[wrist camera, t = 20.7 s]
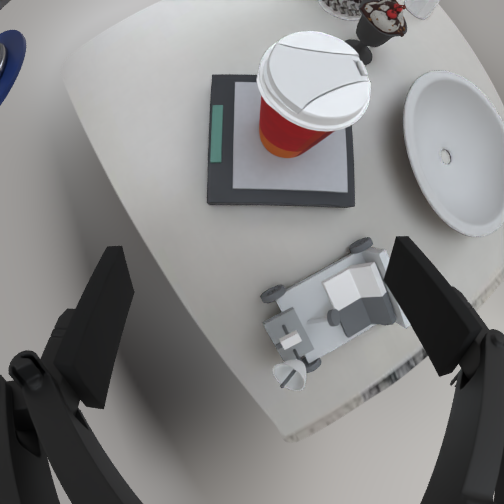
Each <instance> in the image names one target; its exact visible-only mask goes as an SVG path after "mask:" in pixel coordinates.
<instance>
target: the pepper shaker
mask: <svg viewBox="0 0 504 504" xmlns="http://www.w3.org/2000/svg"><path fill="white" fill-rule="evenodd" d="M439 1H440V0H405V1H404V3H405V6H406V8H407V10H408V11H410V12H411V13H412V14H413V15H414V16H415V17H418V18H421V19H423V20H424V19H426V18H427V17H428V16H429V15H430V14H431V12H432V11H433V10H434V8H435V7H436V5H437V4H438V3H439Z"/></svg>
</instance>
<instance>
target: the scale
mask: <svg viewBox="0 0 504 504" xmlns="http://www.w3.org/2000/svg"><path fill="white" fill-rule="evenodd" d="M260 105H261V93H260V91H259V89H258V85H257V75H212V86H211V103H210V123H209V147H208V182H207V203H208V204H209V205H280V206H314V207H338V208H348V207H354V206H355V188H354V157H353V138H352V125H351V126H349V127H346V128H344V129H340V130H336V131H334V132H333V133H332V134H330V135H329V136H327V137H326V138H325V139H323V140H322V141H320V142H319V143H318V144H316V145H315V146H313V147H312V148H310V149H309V150H308V151H306V152H305V153H303V154H301V155H299V156H297V157H293V158H281V157H278V156H275V155H273V154H272V153H270V152H269V151H268V150H267V149H266V148H265V147H264V145H263V144H262V142H261V139H260V135H259V119H260Z"/></svg>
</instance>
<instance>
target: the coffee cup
mask: <svg viewBox="0 0 504 504" xmlns="http://www.w3.org/2000/svg"><path fill="white" fill-rule="evenodd" d="M257 85H258V89H259V91H260V93H261V105H260V119H259V135H260V139H261V142H262V144H263V145H264V147H265V148H266V149H267V150H268V151H269V152H270V153H272V154H273V155H275V156H278V157H281V158H293V157H297V156H299V155H301V154H303V153H305V152H306V151H308V150H309V149H310V148H312V147H313V146H315V145H316V144H318V143H319V142H320V141H322V140H323V139H325V138H326V137H327V136H329V135H330V134H332V133H333V132H334V131H336V130H340V129H344V128H346V127H349V126H351V125H352V124H354V123H355V122H357V121H358V120H359V119H360V118H361V117H362V116H363V114H364V113H365V111H366V109H367V107H368V104H369V100H370V90H371V81H369V79H368V73H367V70H366V68H365V66H364V64H363V62H362V61H360V59H359V54H358V53H357V52H356V51H355V50H354V49H353V48H352V47H351V46H350V45H348V44H347V43H345V42H344V41H342V40H341V39H339V38H337V37H335V36H332V35H329V34H326V33H322V32H316V31H302V32H296V33H293V34H290V35H288V36H285V37H283V38H282V39H281V40H279V41H278V42H276V43H275V44H274V45H272V46H271V47H270V48H269V49H268V50H267V51H266V52H265V54H264V55H263V57H262V59H261V62H260V64H259V71H258V75H257Z"/></svg>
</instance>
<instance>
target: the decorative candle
mask: <svg viewBox="0 0 504 504" xmlns="http://www.w3.org/2000/svg"><path fill="white" fill-rule="evenodd" d="M362 1H363V0H318V2H319V4H320V5H321V6H322V8H323V9H324V10H325V11H327V12H328V13H330V14H332V15H333V16H335V17H338V18H341V19H343V20H351V21H354V20H359V19H360V18H361V15H362V14H361V12H360V11H359V5H360V3H361V2H362Z"/></svg>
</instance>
